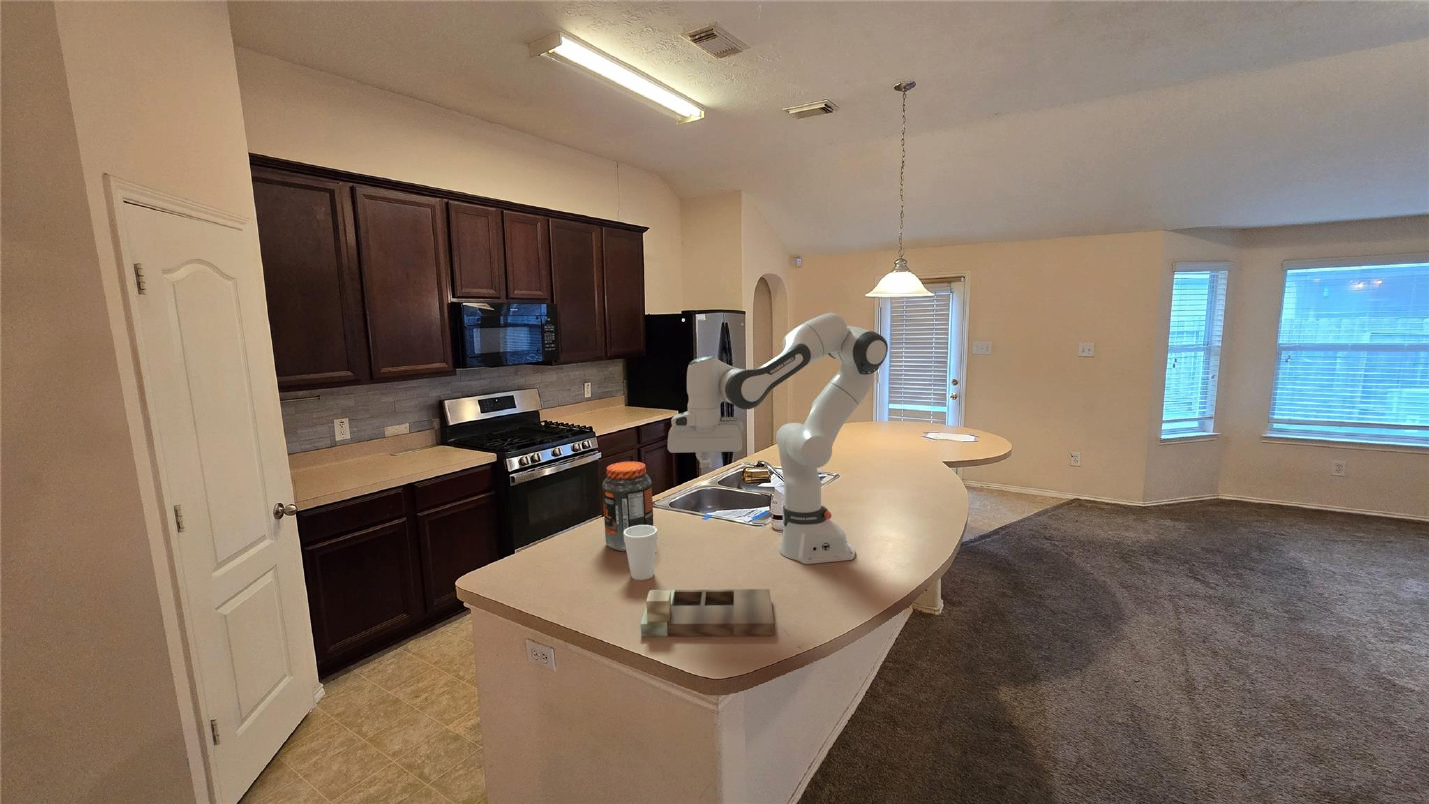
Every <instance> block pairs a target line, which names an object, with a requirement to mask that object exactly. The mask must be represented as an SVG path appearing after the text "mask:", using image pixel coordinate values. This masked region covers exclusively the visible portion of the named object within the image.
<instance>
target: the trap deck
mask: <svg viewBox="0 0 1429 804" xmlns="http://www.w3.org/2000/svg"><path fill="white" fill-rule="evenodd" d="M663 590H664V589H651V590H650V591H663ZM670 590H671V615H670V621H669V622H647V605H645V609H644V612H643V615H642V618H641V622H640V637H768V636H767V635H770V636H769V637H773V636H772V635H774V636H775V622H774V614H773V606H772V598H771V589H770V588H764V589H763V588H756V589H755V588H753V589H752V588H750V589H748V588H745V589H742V588H741V589H740V588H739V589H734V588H733V589H730V588H729V589H728V588H727V589H725V588H723V589H670ZM763 635H765V636H763Z"/></svg>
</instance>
